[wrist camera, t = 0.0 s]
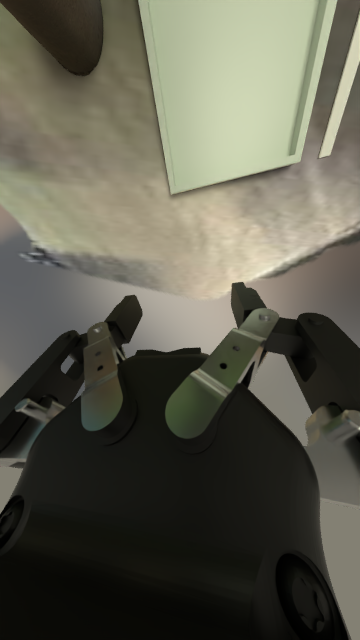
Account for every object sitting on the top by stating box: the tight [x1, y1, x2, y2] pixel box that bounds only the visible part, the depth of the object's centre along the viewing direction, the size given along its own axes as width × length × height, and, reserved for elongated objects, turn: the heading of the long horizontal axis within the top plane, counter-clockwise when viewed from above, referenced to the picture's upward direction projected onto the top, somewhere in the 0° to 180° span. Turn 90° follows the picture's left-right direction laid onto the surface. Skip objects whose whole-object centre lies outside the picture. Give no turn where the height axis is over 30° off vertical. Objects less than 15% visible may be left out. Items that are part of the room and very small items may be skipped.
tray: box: [138, 0, 337, 195], centre depth 20 cm, size 22×22×3 cm
